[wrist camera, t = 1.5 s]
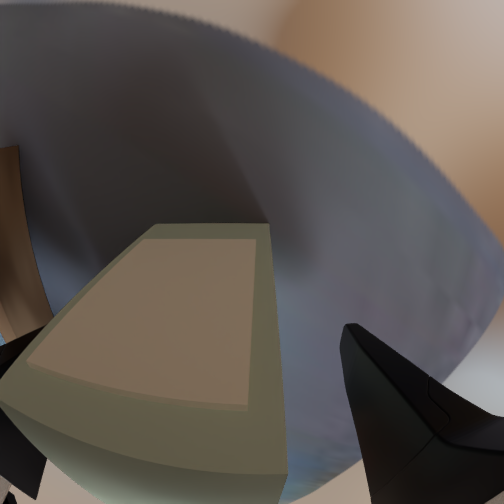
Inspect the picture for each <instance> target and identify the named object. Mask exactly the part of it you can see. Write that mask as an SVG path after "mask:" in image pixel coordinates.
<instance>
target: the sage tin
mask: <svg viewBox="0 0 504 504" xmlns="http://www.w3.org/2000/svg"><path fill="white" fill-rule="evenodd" d="M0 407H1V409H2V410H3V411H4V412H5V414H6V415H7V416H8V417H9V418H10V420H11V421H12V422H13V423H14V424H15V425H16V427H17V428H18V429H19V430H20V431H21V432H22V433H23V434H24V435H25V437H26V438H27V439H28V440H29V441H30V442H31V443H32V444H33V445H34V446H35V447H36V448H37V449H38V450H39V451H40V452H41V453H42V454H43V455H44V456H45V457H47V458H48V459H49V460H50V461H51V462H52V463H53V464H54V465H55V466H57V467H58V468H59V469H60V470H61V471H62V472H64V473H65V474H66V475H67V476H68V477H70V478H71V479H72V480H73V481H75V482H76V483H77V484H78V485H80V486H81V487H83V488H84V489H85V490H87V491H88V492H89V493H91V494H92V495H93V496H95V497H96V498H98V499H99V500H101V501H103V502H104V503H106V504H278V502H279V499H280V496H281V493H282V490H283V488H284V485H285V482H286V479H287V476H288V462H287V443H286V426H285V409H284V394H283V380H282V366H281V352H280V339H279V327H278V315H277V303H276V292H275V280H274V270H273V259H272V248H271V238H270V228H269V224H268V223H181V224H155V225H153V226H152V227H151V228H150V229H149V230H147V231H146V232H145V233H144V234H143V235H141V236H140V237H139V238H138V239H137V240H136V241H134V242H133V243H132V244H131V245H130V246H129V247H127V248H126V249H125V250H124V251H123V252H122V253H121V254H119V255H118V256H117V257H116V258H115V259H114V260H113V261H112V262H110V263H109V264H108V265H107V266H106V267H105V268H104V269H103V270H102V271H101V272H100V273H98V274H97V275H96V276H95V277H94V278H93V279H92V280H91V281H90V282H89V283H88V284H87V285H86V286H85V287H84V288H83V289H82V290H81V291H80V292H79V293H78V294H77V295H76V296H74V297H73V298H72V299H71V300H70V301H69V302H68V303H67V304H66V306H65V307H64V308H63V309H62V310H61V311H60V312H59V313H58V314H57V315H56V316H55V317H54V318H53V319H52V320H51V321H50V322H49V323H48V324H47V325H46V326H45V327H44V329H43V330H42V331H41V332H40V333H39V334H38V335H37V336H36V337H35V338H34V340H33V341H32V342H31V343H30V344H29V345H28V346H27V348H26V349H25V350H24V351H23V352H22V353H21V355H20V356H19V357H18V358H17V359H16V360H15V362H14V363H13V364H12V365H11V367H10V368H9V369H8V370H7V371H6V373H5V374H4V375H3V377H2V378H1V379H0Z"/></svg>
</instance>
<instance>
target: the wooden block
mask: <svg viewBox="0 0 504 504" xmlns="http://www.w3.org/2000/svg"><path fill="white" fill-rule="evenodd" d="M53 318H54V317H53V314H52V312H51V309H50V306H49V303H48V300H47V298H46V295H45V292H44V288H43V285H42V282H41V279H40V275H39V272H38V269H37V265H36V261H35V257H34V253H33V249H32V245H31V241H30V236H29V231H28V226H27V221H26V215H25V209H24V203H23V195H22V187H21V178H20V166H19V146H18V145H17V146H11V147H5V148H0V332H1V334H2V336H3V338H4V340H5V342H6V343H8V342H10V341H12V340H14V339H16V338H19V337H21V336H23V335H25V334H27V333H29V332H31V331H34V330H36V329H38V328H40V327H42V326H44V325H47V324H48V323H49V322H50V321H51V320H52V319H53Z"/></svg>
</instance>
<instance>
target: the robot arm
mask: <svg viewBox="0 0 504 504" xmlns="http://www.w3.org/2000/svg"><path fill="white" fill-rule="evenodd" d="M45 326H46V325H44V326H42V327H40V328H38V329H36V330H34V331H31V332H29V333H27V334H25V335H23V336H21V337H19V338H16V339H14V340H12V341H10V342H8V343H6V344H4V345H2V346H0V379H1V378H2V377H3V375H4V374H5V373H6V371H7V370H8V369H9V368H10V367H11V365H12V364H13V363H14V362H15V360H16V359H17V358H18V357H19V356H20V355H21V353H22V352H23V351H24V350H25V349H26V348H27V346H28V345H29V344H30V343H31V342H32V341H33V340H34V338H35V337H36V336H37V335H38V334H39V333H40V332H41V331H42V330H43V329H44V327H45ZM340 355H341V361H342V368H343V375H344V382H345V388H346V392H347V396H348V400H349V404H350V408H351V412H352V416H353V420H354V424H355V428H356V432H357V436H358V441H359V445H360V449H361V454H362V458H363V463H364V467H365V472H366V477H367V482H368V486H369V492H370V497H371V504H504V417H500V416H495V415H492V414H490V413H488V412H486V411H485V410H483V409H481V408H479V407H478V406H476V405H474V404H472V403H471V402H469V401H467V400H466V399H464V398H462V397H461V396H459V395H457V394H456V393H454V392H452V391H451V390H449V389H448V388H446V387H445V386H444V385H442V384H441V383H439V382H438V381H436V380H435V379H434V378H432V377H431V376H430V377H429V375H428V374H427V373H425V372H424V371H422V370H421V369H420V368H418V367H417V366H416V365H414V364H413V363H411V362H410V361H409V360H407V359H406V358H405V357H403V356H402V355H400V354H399V353H398V352H396V351H395V350H393V349H392V348H391V347H389V346H388V345H387V344H385V343H384V342H382V341H381V340H380V339H378V338H377V337H375V336H374V335H373V334H371V333H370V332H369V331H367V330H366V329H364V328H363V327H362V326H360V325H359V324H357V323H350V324H345V326H344V328H343V332H342V337H341V341H340ZM46 461H47V457H45V456H44V455H43V454H42V453H41V452H40V451H39V450H38V449H37V448H36V447H35V446H34V445H33V444H32V443H31V442H30V441H29V440H28V439H27V438H26V437H25V435H24V434H23V433H22V432H21V431H20V430H19V429H18V428H17V427H16V425H15V424H14V423H13V422H12V421H11V420H10V418H9V417H8V416H7V415H6V414H5V412H4V411H3V410H2V409H1V407H0V504H17V502H16V499H15V496H14V495H13V494H12V493H11V492H10V491H9V489H10V487H11V485H14V486H15V487H17V488H18V489H19V490H21V491H22V492H24V493H25V494H27V495H28V496H30V497H31V498H33V499H34V500H36V498H37V495H38V491H39V487H40V483H41V479H42V475H43V472H44V468H45V465H46Z"/></svg>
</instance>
